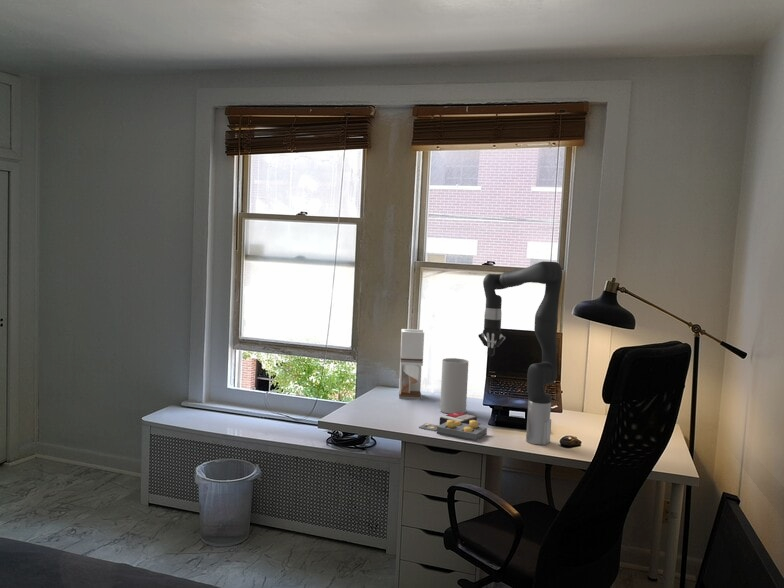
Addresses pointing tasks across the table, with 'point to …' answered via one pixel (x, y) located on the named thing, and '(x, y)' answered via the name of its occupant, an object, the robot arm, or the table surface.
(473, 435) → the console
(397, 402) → the table surface
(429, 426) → the card
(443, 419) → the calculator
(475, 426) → the button
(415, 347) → the white square dispenser
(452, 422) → the button
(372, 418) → the table surface
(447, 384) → the cylinder vase
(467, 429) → the button
